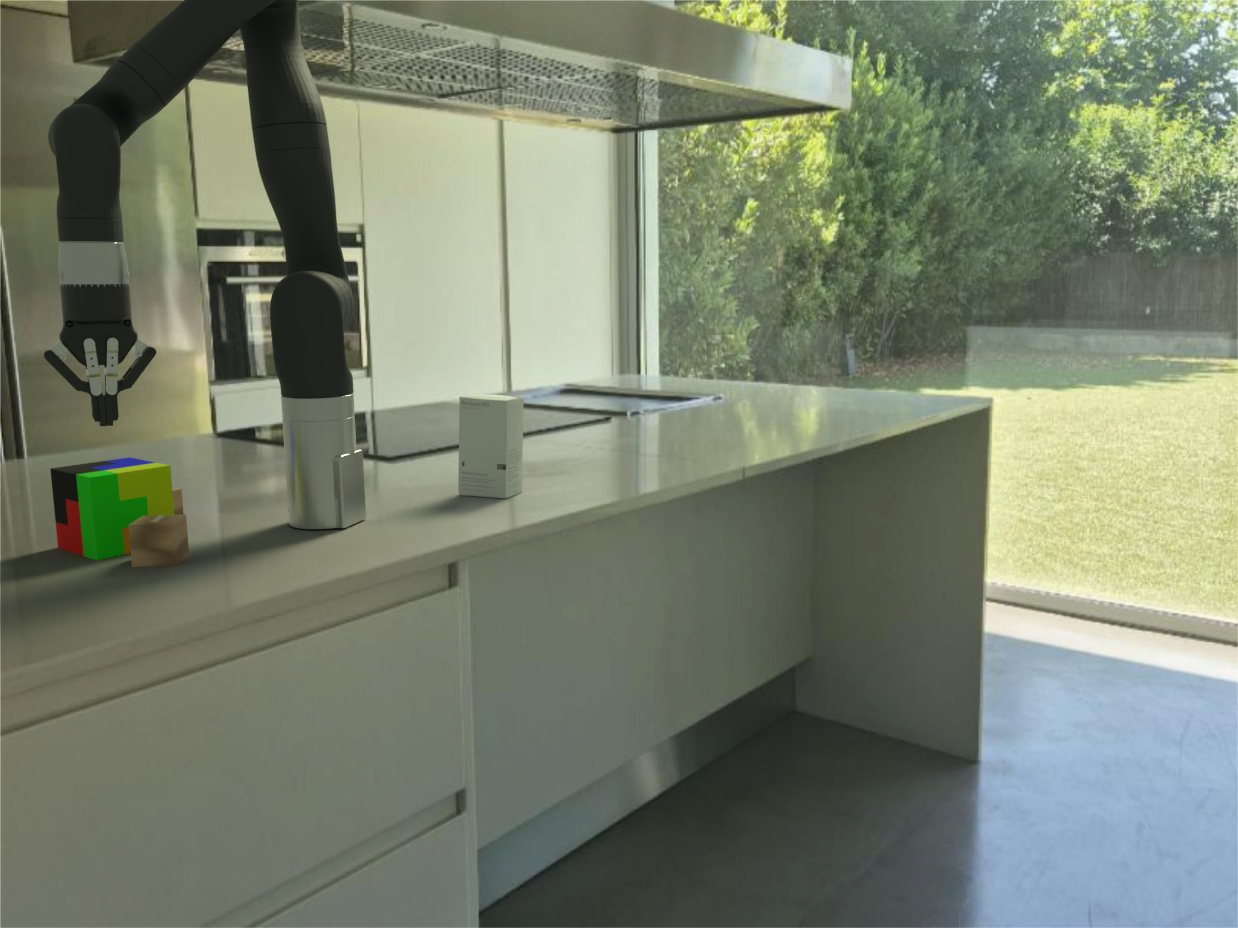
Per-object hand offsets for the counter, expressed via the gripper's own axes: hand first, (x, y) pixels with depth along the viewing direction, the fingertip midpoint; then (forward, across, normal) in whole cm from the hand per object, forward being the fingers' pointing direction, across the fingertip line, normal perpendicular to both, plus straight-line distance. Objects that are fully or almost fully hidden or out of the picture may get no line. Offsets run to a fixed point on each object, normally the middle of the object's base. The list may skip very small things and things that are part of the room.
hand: (105, 425), depth 137 cm
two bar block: (+15, -6, -8) cm, 18 cm away
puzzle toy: (+15, 0, 0) cm, 15 cm away
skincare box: (+15, -52, -4) cm, 55 cm away
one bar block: (+15, -4, +11) cm, 19 cm away
